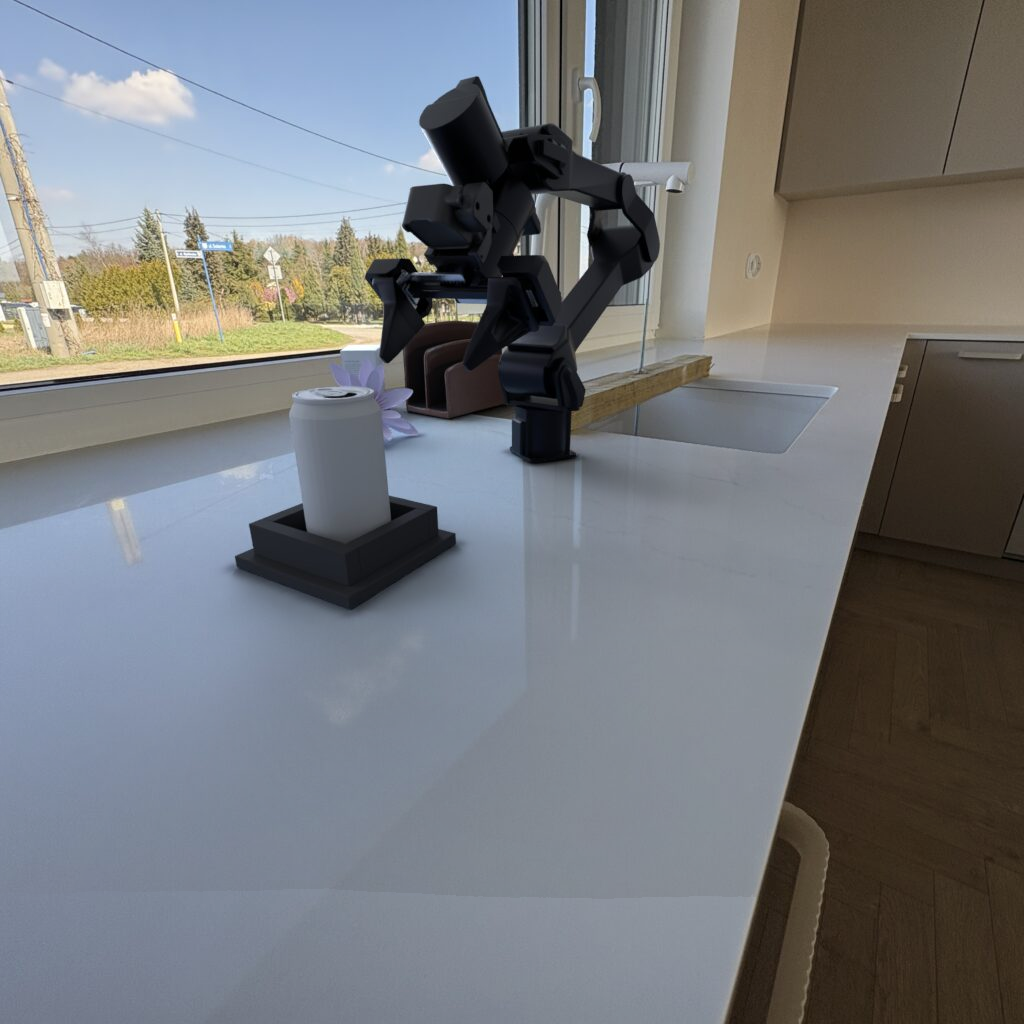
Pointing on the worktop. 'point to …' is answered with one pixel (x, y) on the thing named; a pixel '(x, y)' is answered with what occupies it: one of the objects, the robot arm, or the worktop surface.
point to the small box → (361, 359)
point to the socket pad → (344, 553)
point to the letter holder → (448, 372)
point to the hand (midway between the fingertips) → (423, 363)
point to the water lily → (387, 400)
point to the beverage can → (340, 461)
